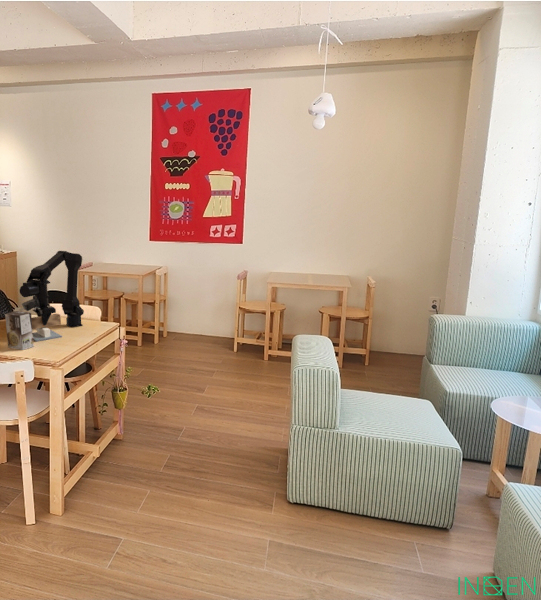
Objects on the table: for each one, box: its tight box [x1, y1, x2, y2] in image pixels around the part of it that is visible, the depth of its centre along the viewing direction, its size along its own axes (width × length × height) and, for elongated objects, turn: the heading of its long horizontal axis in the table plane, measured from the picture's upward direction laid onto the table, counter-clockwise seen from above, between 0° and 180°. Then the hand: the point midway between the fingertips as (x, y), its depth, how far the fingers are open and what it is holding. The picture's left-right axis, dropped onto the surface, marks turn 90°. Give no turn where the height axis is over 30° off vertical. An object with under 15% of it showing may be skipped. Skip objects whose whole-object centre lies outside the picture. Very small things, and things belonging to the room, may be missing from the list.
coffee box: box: [4, 310, 35, 351], centre depth 201 cm, size 9×6×16 cm
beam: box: [32, 313, 62, 330], centre depth 218 cm, size 16×4×5 cm, turn 142°
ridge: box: [33, 327, 63, 343], centre depth 219 cm, size 12×14×4 cm
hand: (43, 324), depth 219 cm, fingers closed on beam, 4 cm apart
